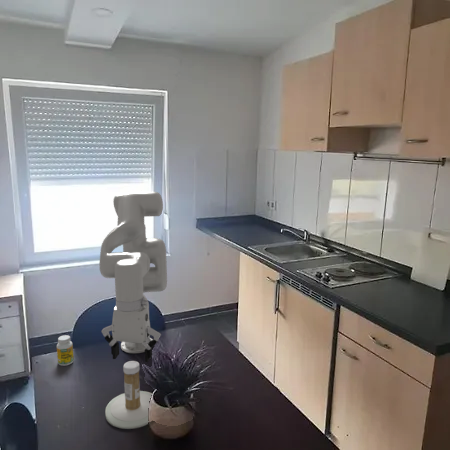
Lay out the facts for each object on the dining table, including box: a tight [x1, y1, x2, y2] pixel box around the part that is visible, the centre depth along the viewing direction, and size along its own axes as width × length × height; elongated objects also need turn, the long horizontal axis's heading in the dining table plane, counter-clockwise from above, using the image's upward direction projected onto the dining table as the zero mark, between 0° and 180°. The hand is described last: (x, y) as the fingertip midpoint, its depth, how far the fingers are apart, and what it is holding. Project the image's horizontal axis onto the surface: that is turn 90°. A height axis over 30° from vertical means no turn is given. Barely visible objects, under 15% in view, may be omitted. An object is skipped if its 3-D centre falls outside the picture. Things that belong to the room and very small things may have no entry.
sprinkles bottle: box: [122, 360, 141, 410], centre depth 119 cm, size 5×5×13 cm
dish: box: [104, 390, 153, 430], centre depth 121 cm, size 16×16×1 cm
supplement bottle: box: [56, 334, 75, 367], centre depth 146 cm, size 5×5×10 cm
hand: (131, 358), depth 118 cm, fingers open, 9 cm apart
